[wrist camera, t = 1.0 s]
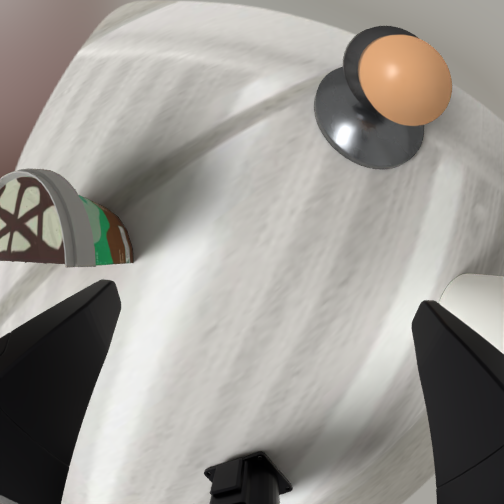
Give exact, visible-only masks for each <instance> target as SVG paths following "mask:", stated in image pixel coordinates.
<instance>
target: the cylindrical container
mask: <svg viewBox="0 0 504 504" xmlns="http://www.w3.org/2000/svg"><path fill="white" fill-rule="evenodd" d="M439 304H440V305H441V306H443V307H444V308H445V309H447V310H448V311H449V312H451V313H452V314H453V315H455V316H456V317H457V318H459V319H460V320H461V321H463V322H464V323H465V324H467V325H468V326H469V327H471V328H472V329H473V330H474V331H476V332H477V333H478V334H479V335H481V336H482V337H483V338H484V339H486V340H487V341H488V342H489V343H491V344H492V345H493V346H494V347H496V348H497V349H498V350H499V351H500V352H502V353H503V354H504V276H494V275H482V274H462V275H459V276H458V277H456V278H455V279H454V280H453V281H451V282H450V284H449V285H448V286H447V288H446V289H445V291H444V293H443V294H442V297H441V299H440V302H439Z"/></svg>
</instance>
